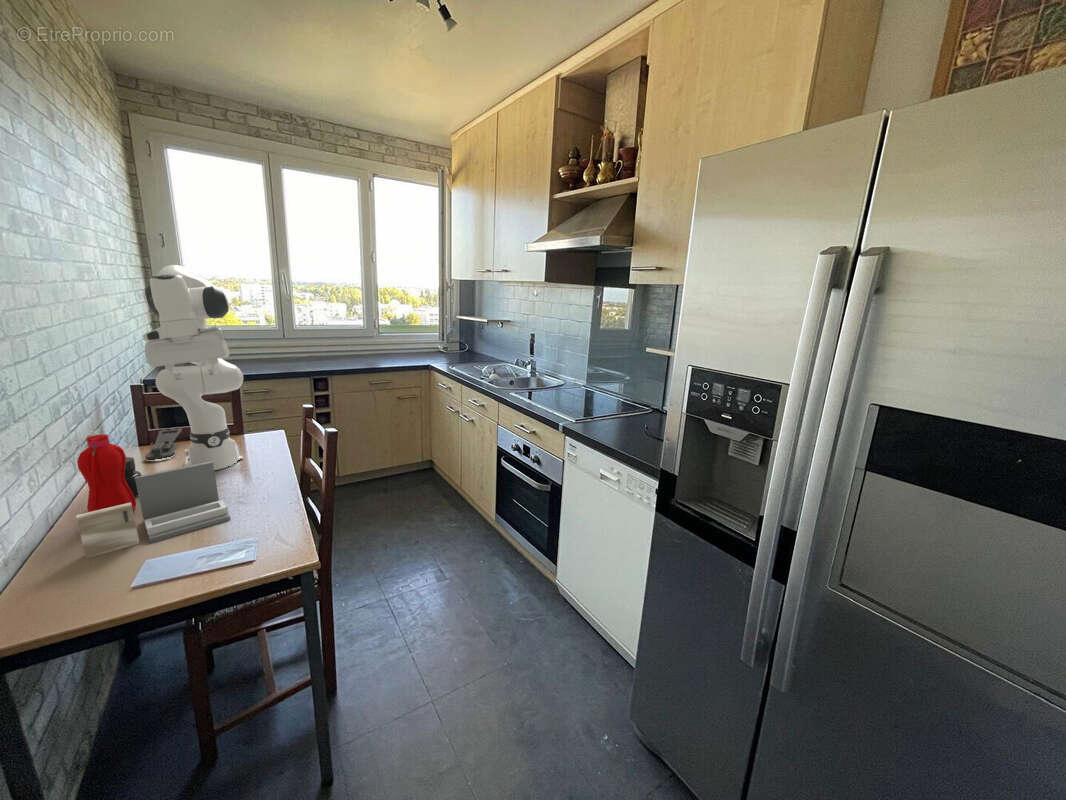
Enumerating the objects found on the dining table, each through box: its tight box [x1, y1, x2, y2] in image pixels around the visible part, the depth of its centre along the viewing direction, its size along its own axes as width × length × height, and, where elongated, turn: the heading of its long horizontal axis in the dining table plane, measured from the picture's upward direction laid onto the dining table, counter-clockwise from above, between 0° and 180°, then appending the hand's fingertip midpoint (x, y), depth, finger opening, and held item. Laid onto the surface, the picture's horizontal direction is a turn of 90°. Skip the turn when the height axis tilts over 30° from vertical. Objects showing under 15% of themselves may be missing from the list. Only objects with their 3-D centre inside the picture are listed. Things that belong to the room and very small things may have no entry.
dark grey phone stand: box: [144, 427, 183, 460], centre depth 179 cm, size 9×7×25 cm
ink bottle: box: [125, 456, 142, 498], centre depth 140 cm, size 10×9×12 cm
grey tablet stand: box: [135, 461, 231, 544], centre depth 125 cm, size 16×18×14 cm
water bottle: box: [76, 433, 137, 513], centre depth 125 cm, size 9×11×25 cm
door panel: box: [76, 503, 140, 559], centre depth 111 cm, size 3×10×11 cm, turn 136°
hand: (196, 377), depth 129 cm, fingers open, 8 cm apart
